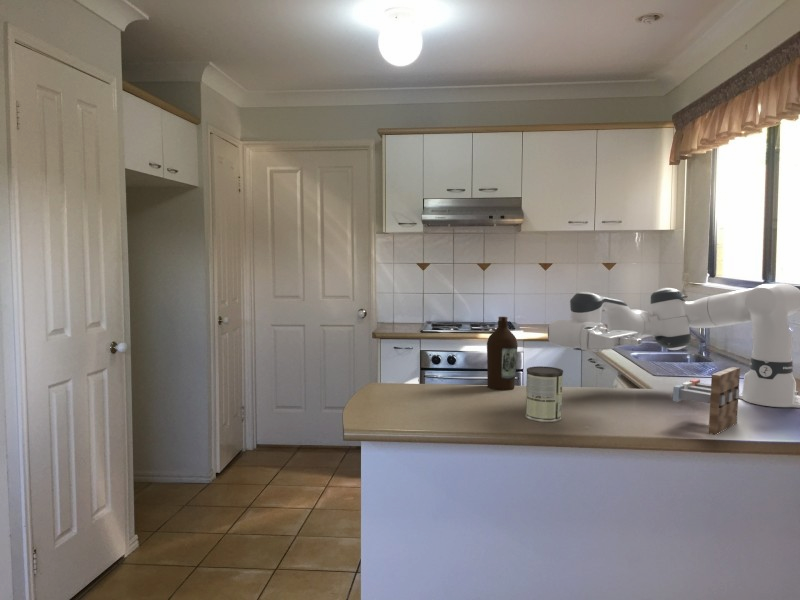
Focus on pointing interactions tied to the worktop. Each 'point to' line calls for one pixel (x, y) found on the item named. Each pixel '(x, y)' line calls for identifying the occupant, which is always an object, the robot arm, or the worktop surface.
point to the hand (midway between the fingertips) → (639, 342)
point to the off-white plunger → (704, 390)
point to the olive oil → (501, 357)
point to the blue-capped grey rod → (693, 395)
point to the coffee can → (544, 394)
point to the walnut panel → (728, 412)
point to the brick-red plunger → (697, 383)
